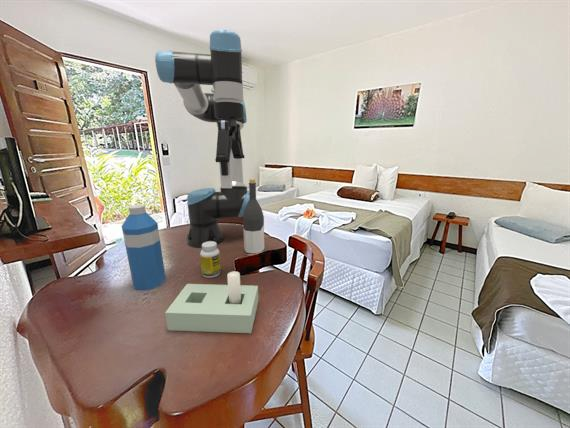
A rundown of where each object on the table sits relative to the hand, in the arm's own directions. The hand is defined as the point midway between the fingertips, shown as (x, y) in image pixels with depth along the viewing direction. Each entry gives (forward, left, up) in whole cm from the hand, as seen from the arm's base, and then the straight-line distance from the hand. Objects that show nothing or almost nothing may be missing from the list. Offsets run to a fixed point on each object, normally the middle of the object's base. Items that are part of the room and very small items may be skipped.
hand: (233, 183), depth 70 cm
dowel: (+16, +3, -32) cm, 36 cm away
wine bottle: (-21, +2, -32) cm, 38 cm away
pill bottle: (-4, -10, -32) cm, 34 cm away
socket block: (+16, -2, -32) cm, 36 cm away
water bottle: (+2, -28, -32) cm, 42 cm away
